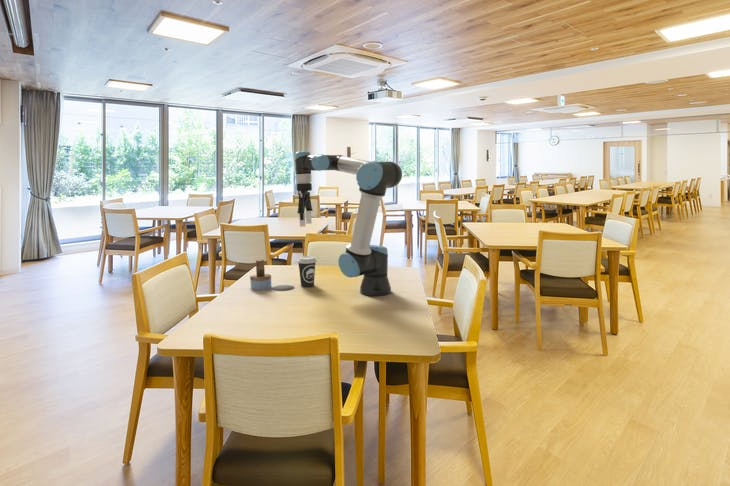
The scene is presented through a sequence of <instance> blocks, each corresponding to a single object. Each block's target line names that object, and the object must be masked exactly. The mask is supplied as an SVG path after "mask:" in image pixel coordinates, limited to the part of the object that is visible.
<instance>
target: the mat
mask: <svg viewBox="0 0 730 486" xmlns="http://www.w3.org/2000/svg"><path fill="white" fill-rule="evenodd" d="M294 289H295V286H294V285H288V284H281V285H275V286H273V287H271V290H273V291H276V292H288V291H292V290H294Z"/></svg>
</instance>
